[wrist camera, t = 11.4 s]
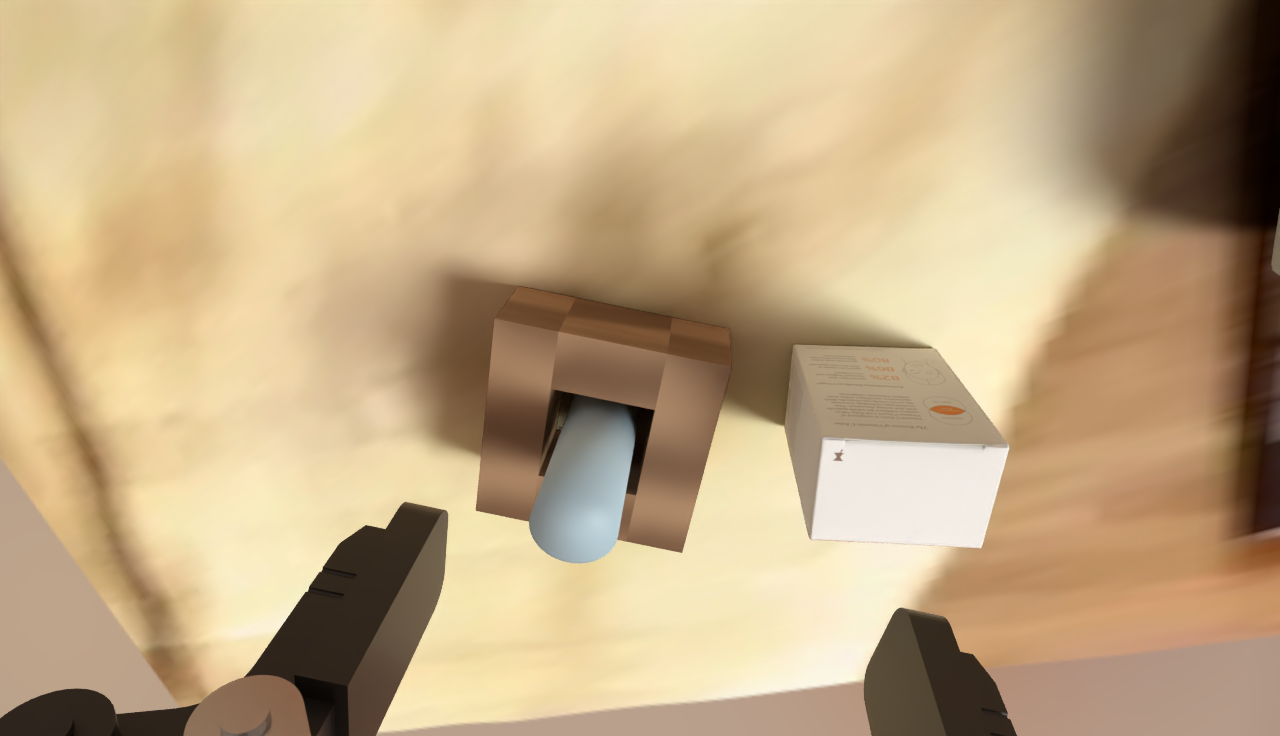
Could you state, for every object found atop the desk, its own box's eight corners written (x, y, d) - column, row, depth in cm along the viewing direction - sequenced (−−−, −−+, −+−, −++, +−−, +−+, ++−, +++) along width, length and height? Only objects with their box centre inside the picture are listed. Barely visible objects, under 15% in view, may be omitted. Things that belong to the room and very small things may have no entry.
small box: (782, 427, 42) (804, 542, 32) (791, 340, 39) (817, 437, 30) (921, 433, 41) (984, 553, 32) (939, 346, 39) (1013, 447, 29)
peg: (580, 364, 41) (534, 482, 30) (647, 377, 41) (625, 500, 30) (570, 422, 43) (524, 553, 32) (635, 435, 43) (610, 570, 32)
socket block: (519, 286, 39) (494, 318, 35) (729, 328, 39) (731, 366, 35) (499, 462, 44) (475, 510, 40) (684, 500, 44) (681, 552, 40)
